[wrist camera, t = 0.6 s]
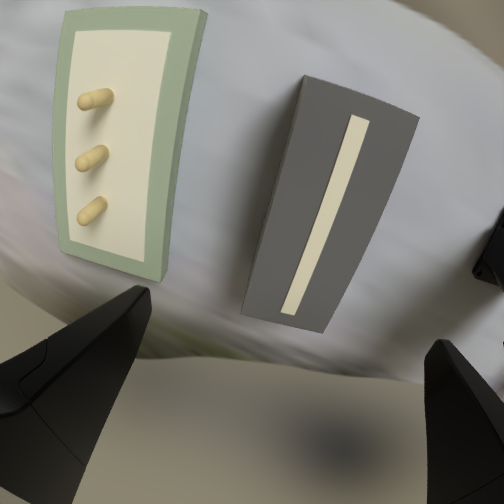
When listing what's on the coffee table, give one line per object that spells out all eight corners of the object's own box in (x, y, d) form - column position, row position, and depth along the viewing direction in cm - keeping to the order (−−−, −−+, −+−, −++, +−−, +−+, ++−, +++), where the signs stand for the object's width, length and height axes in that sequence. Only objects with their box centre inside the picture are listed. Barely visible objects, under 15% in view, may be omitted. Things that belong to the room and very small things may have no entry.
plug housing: (388, 103, 15) (420, 117, 11) (319, 282, 23) (322, 334, 18) (304, 74, 15) (308, 76, 11) (251, 264, 23) (240, 315, 18)
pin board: (208, 13, 14) (181, -1, 10) (167, 270, 24) (145, 310, 20) (78, 12, 14) (33, 9, 10) (69, 241, 24) (39, 272, 20)
